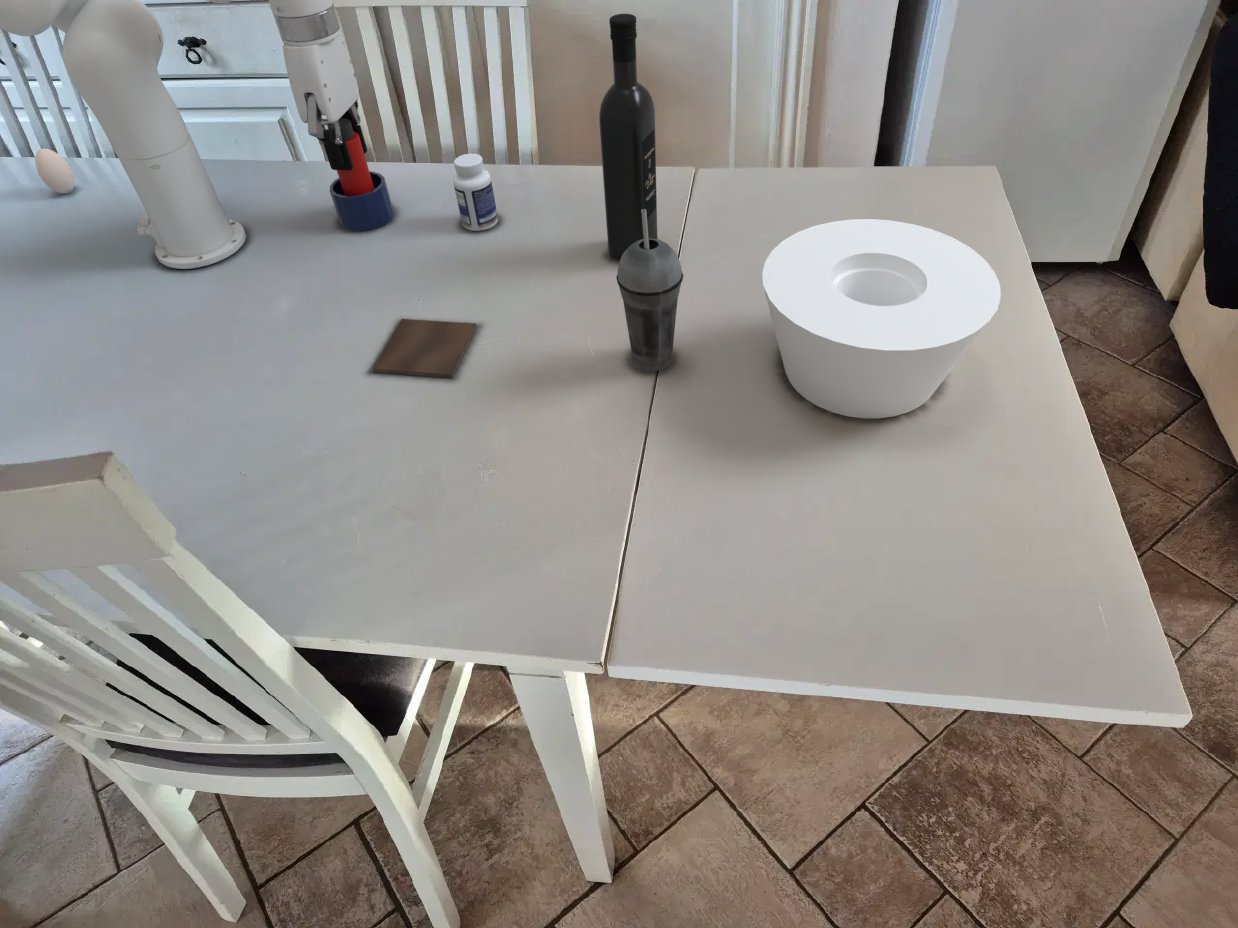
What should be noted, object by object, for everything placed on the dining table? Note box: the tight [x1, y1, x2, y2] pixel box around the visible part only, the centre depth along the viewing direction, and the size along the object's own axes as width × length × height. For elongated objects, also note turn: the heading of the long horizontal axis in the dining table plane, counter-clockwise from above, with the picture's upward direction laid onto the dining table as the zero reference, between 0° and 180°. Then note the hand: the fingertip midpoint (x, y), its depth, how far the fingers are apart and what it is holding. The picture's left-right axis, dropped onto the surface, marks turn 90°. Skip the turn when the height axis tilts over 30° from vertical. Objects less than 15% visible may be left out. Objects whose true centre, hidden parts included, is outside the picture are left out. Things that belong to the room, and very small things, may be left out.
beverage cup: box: [615, 209, 684, 372], centre depth 89 cm, size 7×7×20 cm
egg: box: [34, 148, 76, 195], centre depth 132 cm, size 5×5×7 cm
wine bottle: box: [598, 13, 658, 261], centre depth 102 cm, size 6×6×30 cm
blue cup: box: [329, 170, 395, 232], centre depth 121 cm, size 8×8×6 cm
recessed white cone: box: [761, 218, 1002, 419], centre depth 89 cm, size 24×24×12 cm
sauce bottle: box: [326, 119, 374, 196], centre depth 118 cm, size 4×4×14 cm
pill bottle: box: [452, 153, 499, 232], centre depth 117 cm, size 5×5×10 cm
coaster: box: [372, 318, 477, 379], centre depth 100 cm, size 10×10×1 cm
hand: (349, 159), depth 117 cm, fingers closed on sauce bottle, 4 cm apart
